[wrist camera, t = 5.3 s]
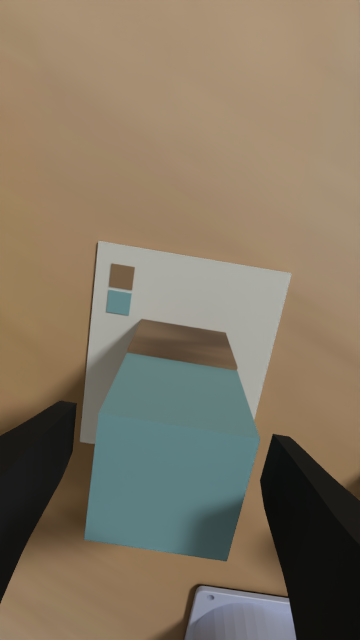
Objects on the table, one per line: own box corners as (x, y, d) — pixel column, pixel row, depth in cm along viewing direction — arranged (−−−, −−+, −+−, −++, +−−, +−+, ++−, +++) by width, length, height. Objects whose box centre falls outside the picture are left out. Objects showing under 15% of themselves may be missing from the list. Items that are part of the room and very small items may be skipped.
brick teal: (237, 370, 14) (260, 439, 10) (215, 463, 15) (226, 561, 11) (127, 352, 14) (98, 413, 9) (114, 447, 15) (83, 539, 11)
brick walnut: (225, 332, 18) (237, 367, 14) (209, 406, 20) (216, 460, 15) (141, 318, 18) (127, 349, 14) (131, 394, 20) (114, 444, 15)
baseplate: (290, 273, 18) (292, 273, 17) (241, 464, 21) (242, 468, 21) (99, 240, 17) (98, 241, 17) (80, 439, 21) (79, 442, 20)
